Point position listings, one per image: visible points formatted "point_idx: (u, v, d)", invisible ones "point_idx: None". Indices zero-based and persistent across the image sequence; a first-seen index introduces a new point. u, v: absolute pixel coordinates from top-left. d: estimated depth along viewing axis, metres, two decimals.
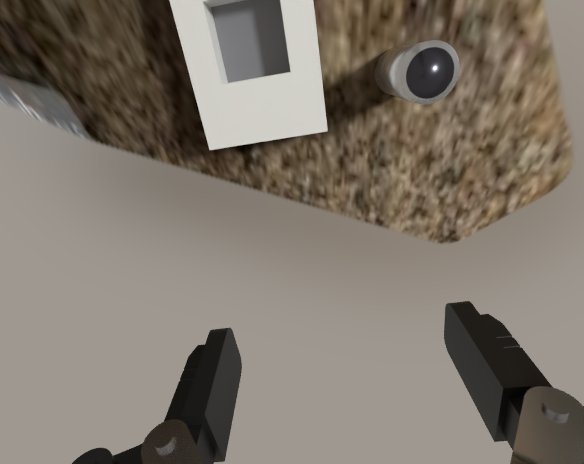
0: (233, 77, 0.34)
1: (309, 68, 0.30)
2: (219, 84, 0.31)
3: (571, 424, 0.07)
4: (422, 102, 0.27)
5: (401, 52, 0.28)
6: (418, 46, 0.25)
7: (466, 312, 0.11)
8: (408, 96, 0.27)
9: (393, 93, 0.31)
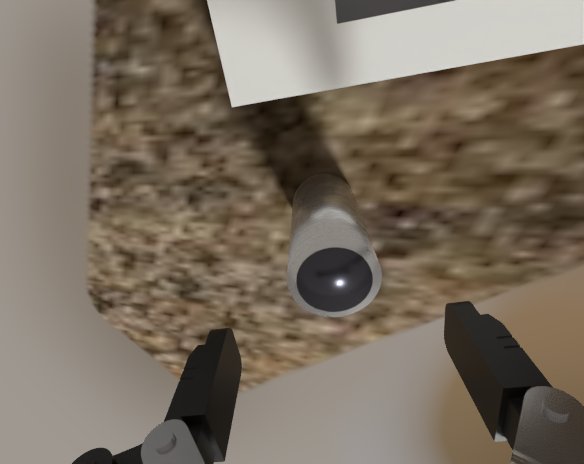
0: None
1: (341, 65, 0.16)
2: None
3: (571, 424, 0.07)
4: (290, 276, 0.16)
5: (360, 224, 0.18)
6: (375, 259, 0.15)
7: (466, 312, 0.11)
8: (299, 255, 0.15)
9: (298, 214, 0.20)
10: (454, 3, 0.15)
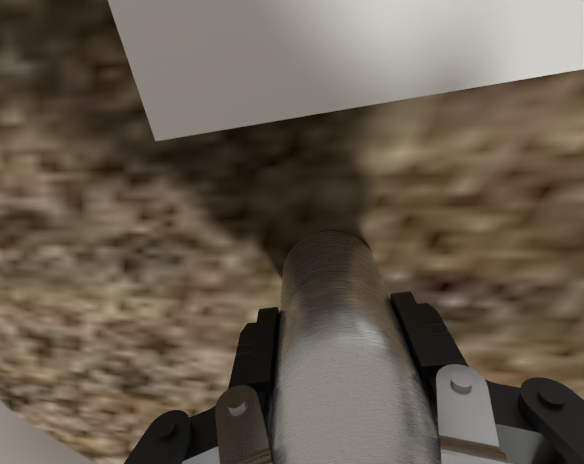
0: None
1: (377, 57, 0.08)
2: None
3: (471, 395, 0.08)
4: None
5: (409, 369, 0.09)
6: None
7: (405, 301, 0.12)
8: None
9: (290, 327, 0.11)
10: None
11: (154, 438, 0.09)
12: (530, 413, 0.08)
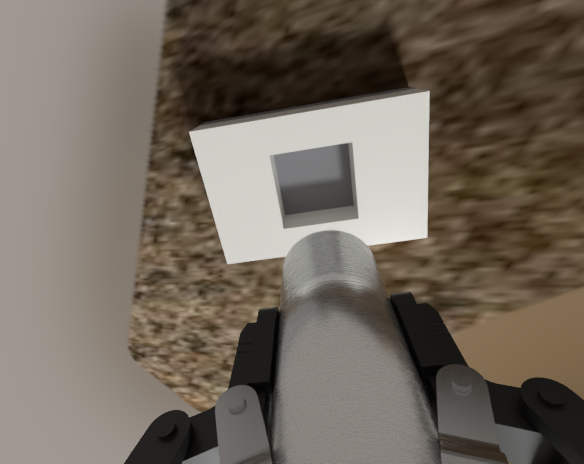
0: (277, 154, 0.29)
1: (287, 246, 0.30)
2: (269, 152, 0.26)
3: (471, 396, 0.08)
4: None
5: (409, 368, 0.09)
6: None
7: (405, 301, 0.12)
8: None
9: (289, 326, 0.11)
10: (344, 221, 0.29)
11: (154, 438, 0.09)
12: (530, 413, 0.08)
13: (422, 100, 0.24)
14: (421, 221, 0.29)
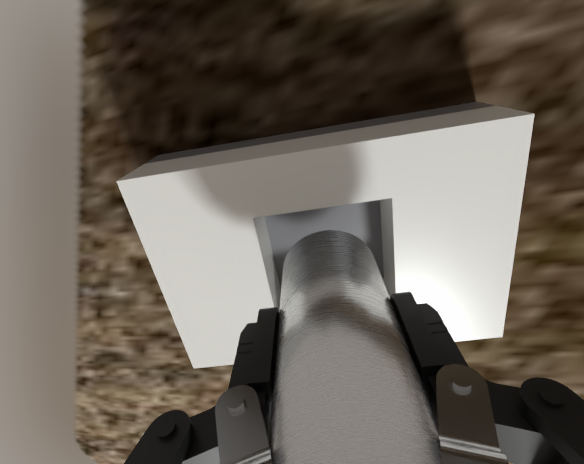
0: None
1: None
2: (252, 214, 0.16)
3: (471, 395, 0.08)
4: None
5: (409, 368, 0.09)
6: None
7: (405, 301, 0.12)
8: None
9: (290, 326, 0.11)
10: None
11: (154, 438, 0.09)
12: (530, 413, 0.08)
13: (520, 130, 0.14)
14: (496, 314, 0.18)
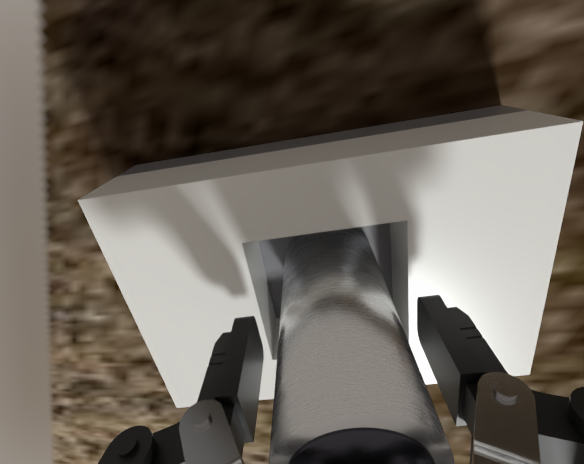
0: None
1: None
2: (241, 238, 0.13)
3: (518, 406, 0.08)
4: None
5: (401, 342, 0.10)
6: (444, 445, 0.08)
7: (434, 305, 0.12)
8: (292, 437, 0.08)
9: (292, 307, 0.12)
10: None
11: (115, 457, 0.08)
12: (578, 421, 0.08)
13: (564, 140, 0.11)
14: (523, 351, 0.16)
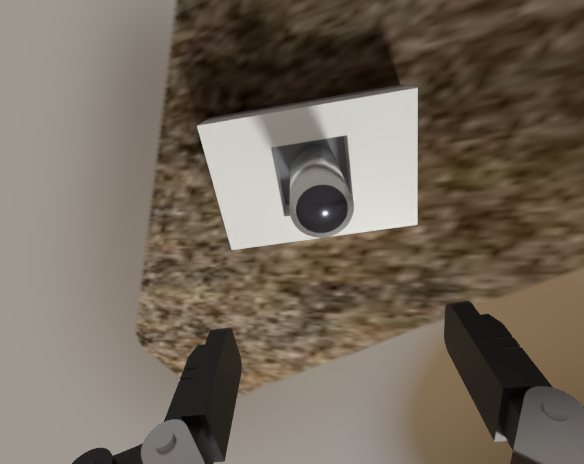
0: (278, 147, 0.32)
1: (287, 233, 0.32)
2: (270, 145, 0.28)
3: (571, 424, 0.07)
4: (291, 206, 0.23)
5: (340, 174, 0.25)
6: (349, 193, 0.23)
7: (466, 312, 0.11)
8: (298, 190, 0.23)
9: (296, 170, 0.27)
10: None
11: None
12: None
13: (411, 96, 0.27)
14: (411, 209, 0.31)
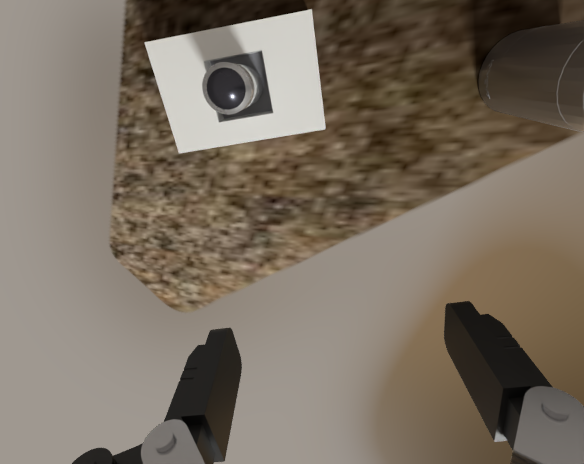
0: None
1: (222, 137, 0.40)
2: (203, 58, 0.36)
3: (571, 424, 0.07)
4: (203, 85, 0.31)
5: (246, 70, 0.33)
6: (245, 76, 0.31)
7: (466, 312, 0.11)
8: (207, 71, 0.31)
9: None
10: (263, 115, 0.39)
11: None
12: None
13: (307, 16, 0.34)
14: (319, 115, 0.39)
